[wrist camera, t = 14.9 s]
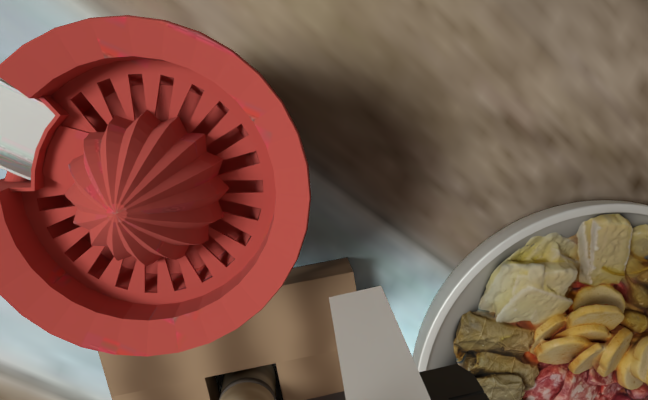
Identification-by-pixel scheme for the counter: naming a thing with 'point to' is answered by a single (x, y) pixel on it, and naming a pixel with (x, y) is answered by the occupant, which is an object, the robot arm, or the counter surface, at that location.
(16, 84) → the citrus juicer
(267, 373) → the peg
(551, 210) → the bowl
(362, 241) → the counter surface
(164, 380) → the board
